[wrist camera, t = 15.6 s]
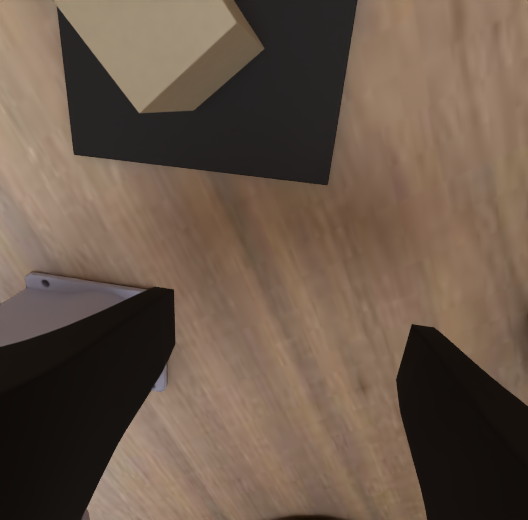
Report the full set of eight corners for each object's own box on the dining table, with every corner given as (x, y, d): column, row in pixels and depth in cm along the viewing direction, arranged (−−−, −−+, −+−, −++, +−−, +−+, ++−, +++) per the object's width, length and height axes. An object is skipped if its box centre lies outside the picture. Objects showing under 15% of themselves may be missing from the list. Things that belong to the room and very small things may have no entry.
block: (193, 111, 18) (138, 114, 13) (133, 28, 17) (46, -7, 12) (265, 48, 17) (237, 22, 11) (203, -47, 16) (141, -125, 10)
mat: (79, 153, 21) (73, 154, 20) (49, -130, 16) (39, -138, 16) (327, 183, 19) (327, 185, 19) (375, -117, 15) (377, -126, 14)
